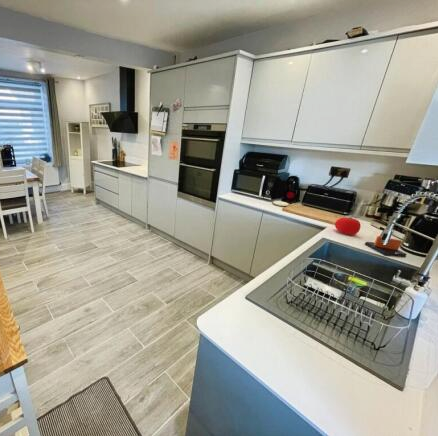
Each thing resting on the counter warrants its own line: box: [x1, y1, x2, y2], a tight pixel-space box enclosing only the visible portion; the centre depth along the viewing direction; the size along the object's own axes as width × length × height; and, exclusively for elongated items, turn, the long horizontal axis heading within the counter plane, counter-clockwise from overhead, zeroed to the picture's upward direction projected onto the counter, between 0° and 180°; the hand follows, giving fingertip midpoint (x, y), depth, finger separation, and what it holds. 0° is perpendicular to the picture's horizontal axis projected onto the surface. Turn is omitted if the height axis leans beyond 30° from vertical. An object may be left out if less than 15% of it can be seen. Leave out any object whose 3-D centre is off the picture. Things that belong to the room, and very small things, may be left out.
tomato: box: [334, 216, 361, 236], centre depth 166 cm, size 12×14×12 cm
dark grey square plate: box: [364, 241, 408, 258], centre depth 144 cm, size 15×15×2 cm
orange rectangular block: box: [374, 235, 403, 250], centre depth 142 cm, size 11×2×6 cm, turn 68°
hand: (430, 212), depth 132 cm, fingers closed
